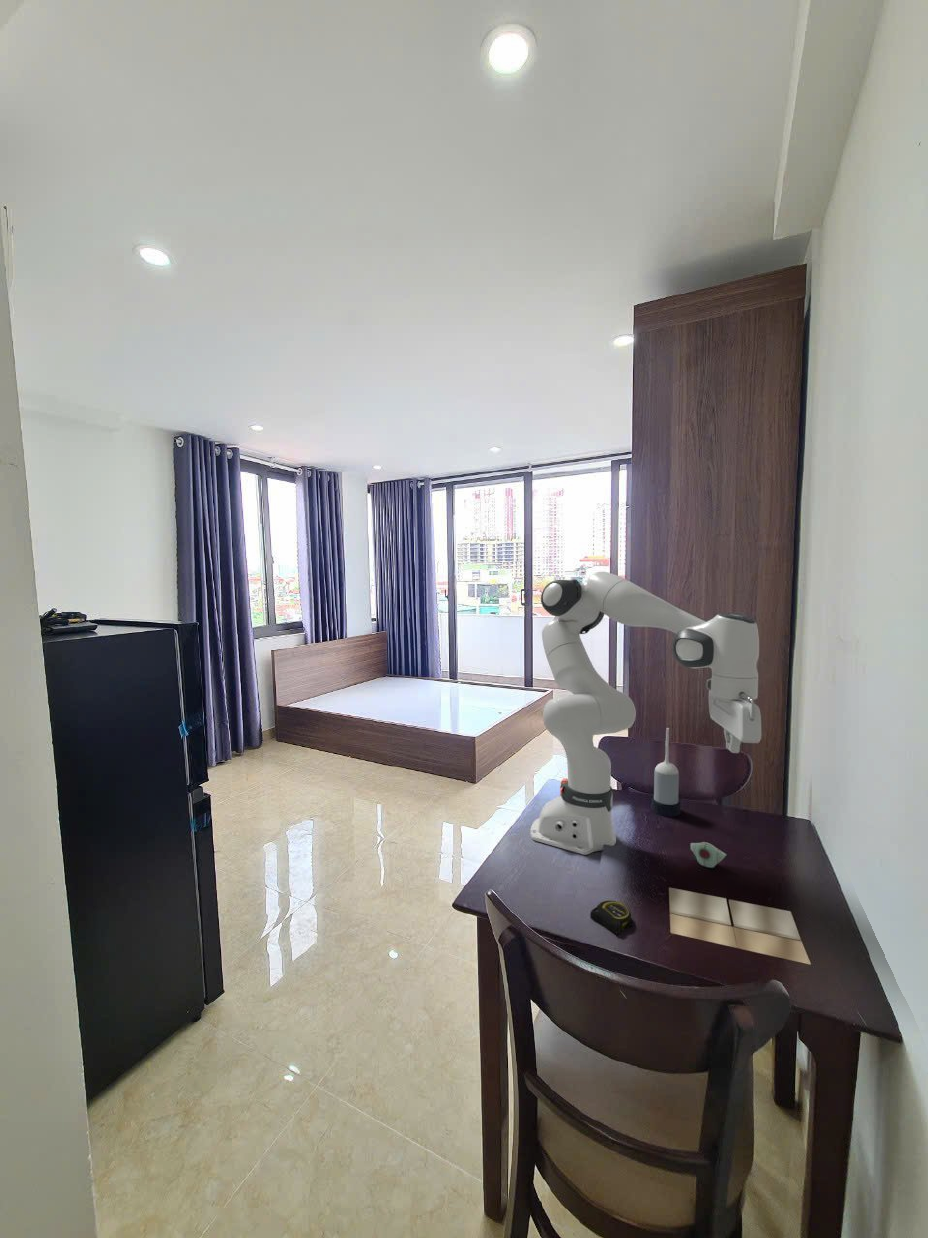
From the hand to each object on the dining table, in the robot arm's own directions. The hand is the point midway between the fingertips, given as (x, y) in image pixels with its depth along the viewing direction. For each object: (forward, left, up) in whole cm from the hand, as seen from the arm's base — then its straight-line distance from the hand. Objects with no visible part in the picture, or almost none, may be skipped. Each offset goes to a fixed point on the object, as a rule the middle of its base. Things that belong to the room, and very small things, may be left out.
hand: (732, 751), depth 108 cm
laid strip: (-1, -19, -31) cm, 37 cm away
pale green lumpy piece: (-4, +6, -31) cm, 32 cm away
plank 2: (+5, -12, -31) cm, 33 cm away
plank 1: (-7, -12, -31) cm, 34 cm away
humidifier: (-12, +37, -31) cm, 50 cm away
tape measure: (-23, -23, -32) cm, 45 cm away
